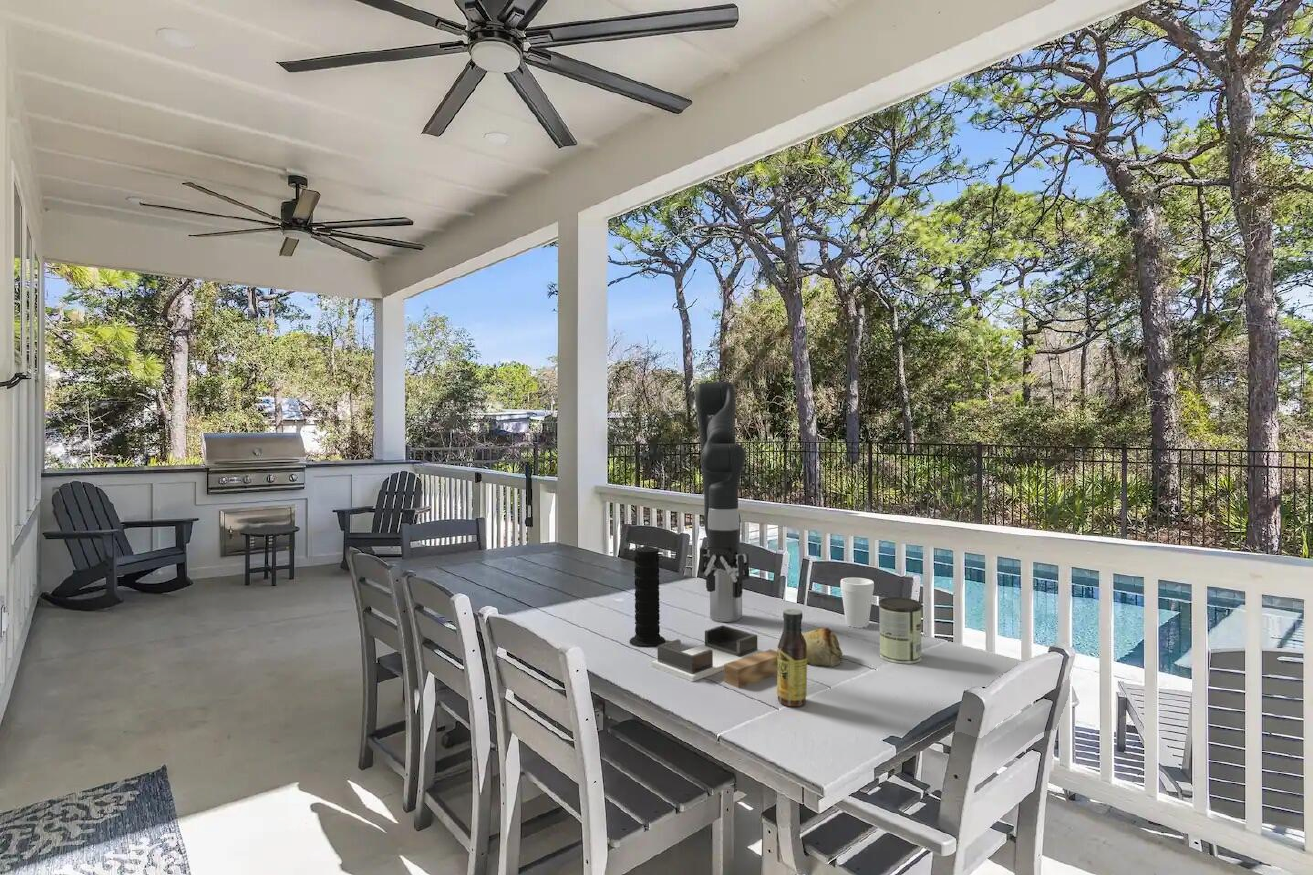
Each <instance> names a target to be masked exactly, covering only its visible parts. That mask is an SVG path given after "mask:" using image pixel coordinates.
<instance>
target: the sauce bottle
mask: <svg viewBox="0 0 1313 875" xmlns="http://www.w3.org/2000/svg"><path fill="white" fill-rule="evenodd" d="M782 618H783V630H782V633H781V636H780V639H779V641H778V644H777V652H778V657H777V674H776V677H777V678H776V680H777V682H776V683H777V684H776V685H777V686H776V690H777V691H776V694H777V701H778V702H779V703H780V704H782V705H784V707H785V706H786V707H793V708H794V707H801V706H803V705H804V706H805V704H806V700H807V693H808V692H807V690H808V689H807V686H808V676H807V674H808V663H807V644H806V641H805V639H804V637H803V635H802V633H803V630H802V620H803V611H802V610H799V609H796V608H788V609H784V610H783V613H782Z"/></svg>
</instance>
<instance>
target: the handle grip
mask: <svg viewBox="0 0 1313 875" xmlns="http://www.w3.org/2000/svg"><path fill="white" fill-rule="evenodd" d="M633 550H634V559H633V560H634V578H635V579H634V597H635V598H634V601H635V602H634V609H635V610H634V621H635V622H634V625H635V628H634V632H635V633H634V634H635V635H634V636H632V637H631V638H630V639H629V644H630V645H632V646H634V647H638V648H656V647H657V645H661V644H664V643H667V642H666V639H665V637H663V636H661V634H660V632H661V631H660V623H661V622H660V619H661V617H660V613H661V610H660V607H661V606H660V567H659V566H660V555H659V553H660V548H658V547H654V546H649V545H644V546H640V547H636V548H634V549H633Z"/></svg>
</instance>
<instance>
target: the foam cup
mask: <svg viewBox="0 0 1313 875" xmlns="http://www.w3.org/2000/svg"><path fill="white" fill-rule="evenodd" d="M874 582H875V581H873V580H872V579H869V578H865V577H844V578H841V579H840V589H841V598H842V605H843V612H844V618H845V619H844V620H845V625H846V624H847V625H848V626H847V625H846V626H847V627H849V626H851V627H850V628H853V627H859V628H858V629H864V628H863V627H866V628H868V627H869V623H870V617H871V615H870V614H871V609H872V602H873V596H874V595H873V593H874V590H875V583H874ZM867 626H868V627H867Z"/></svg>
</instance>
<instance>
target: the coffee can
mask: <svg viewBox="0 0 1313 875" xmlns="http://www.w3.org/2000/svg"><path fill="white" fill-rule="evenodd" d="M878 605H879V606H878V610H879V611H878V612H879V614H878V615H879V616H878V617H879V620H878V621H879V622H878V623H879V630H878V631H879V634H878V635H879V657H880V658H881V659H882V660H884V661H887V662H890V663H895V664H903V665H904V664H906V665H912V664H917V663H920V662H921V661H922V605H923V604H922V603H921V602H920V601H918V600H916V599H913V598H906V597H900V596H898V597H895V596H893V597H890V596H889V597H884V598H880V599H879V600H878Z"/></svg>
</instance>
